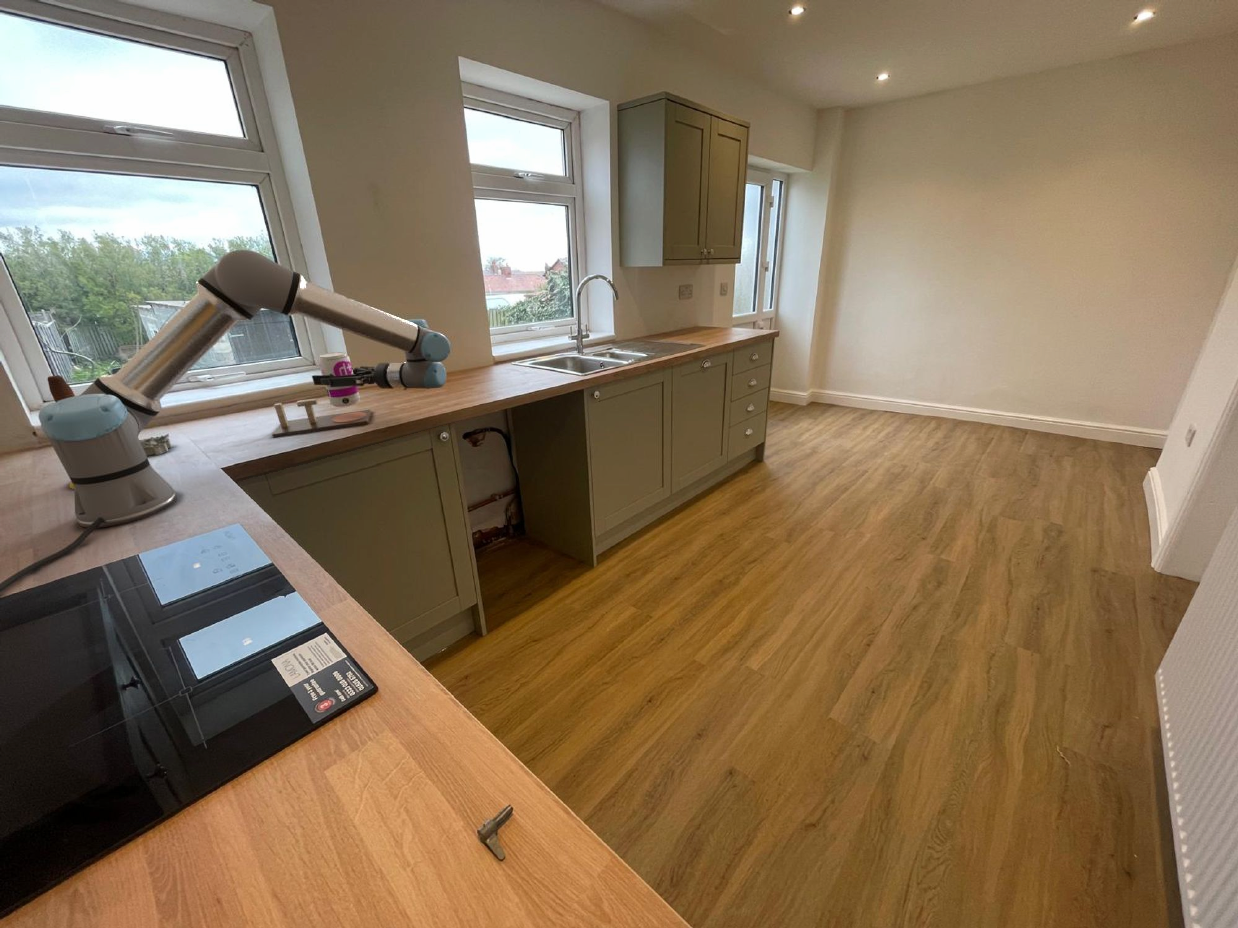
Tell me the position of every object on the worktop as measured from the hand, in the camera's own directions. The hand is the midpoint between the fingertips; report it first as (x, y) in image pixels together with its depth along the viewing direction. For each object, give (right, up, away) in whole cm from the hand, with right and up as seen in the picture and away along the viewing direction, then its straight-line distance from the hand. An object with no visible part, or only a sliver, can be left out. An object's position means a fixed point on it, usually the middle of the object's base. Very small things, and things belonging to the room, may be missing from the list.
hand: (324, 376), depth 151 cm
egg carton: (-40, -23, -14) cm, 49 cm away
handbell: (-36, -30, -29) cm, 55 cm away
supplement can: (+5, -8, +3) cm, 10 cm away
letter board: (-1, -14, +3) cm, 14 cm away
